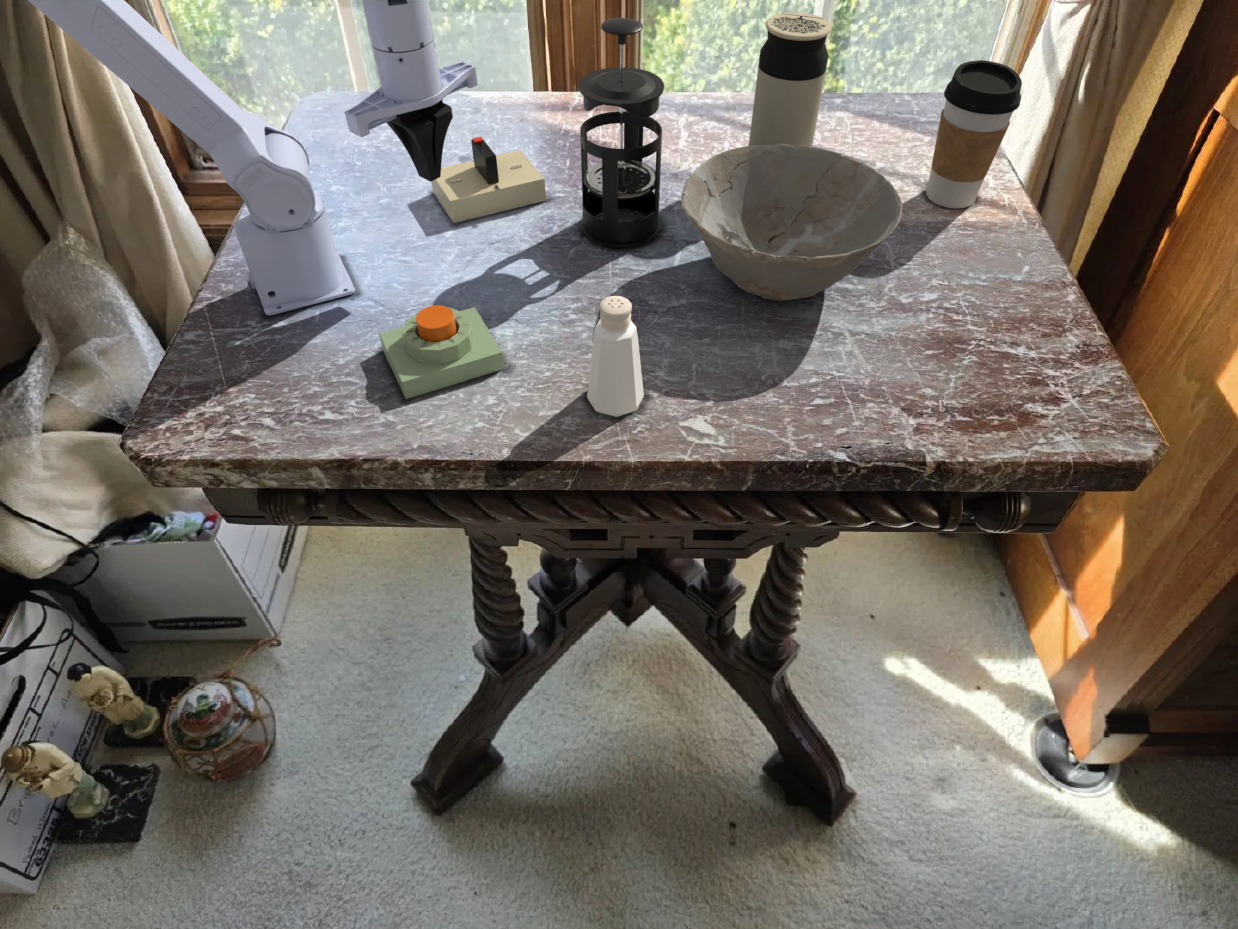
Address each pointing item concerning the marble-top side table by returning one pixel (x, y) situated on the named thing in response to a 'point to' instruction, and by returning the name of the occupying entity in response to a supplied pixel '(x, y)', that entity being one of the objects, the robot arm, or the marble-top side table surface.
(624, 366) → the salt shaker
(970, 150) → the coffee cup
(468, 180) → the dial panel
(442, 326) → the button
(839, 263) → the ceramic bowl
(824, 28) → the travel mug
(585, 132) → the french press
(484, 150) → the knob
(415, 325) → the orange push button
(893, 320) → the marble-top side table surface
